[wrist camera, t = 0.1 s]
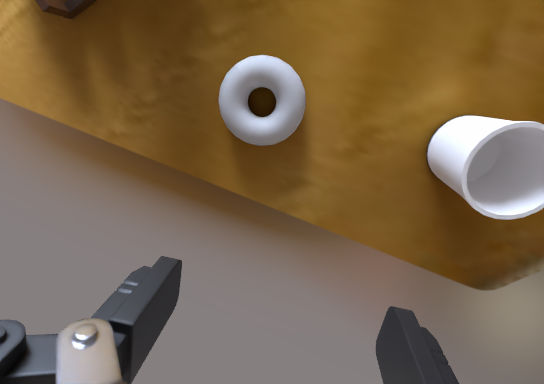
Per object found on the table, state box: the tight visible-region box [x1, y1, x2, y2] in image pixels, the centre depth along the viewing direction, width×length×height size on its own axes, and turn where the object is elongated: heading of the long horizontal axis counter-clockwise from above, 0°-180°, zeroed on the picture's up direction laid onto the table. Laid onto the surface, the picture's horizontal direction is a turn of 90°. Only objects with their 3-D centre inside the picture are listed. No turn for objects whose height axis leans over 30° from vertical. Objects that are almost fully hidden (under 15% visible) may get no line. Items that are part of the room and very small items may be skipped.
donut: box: [219, 55, 306, 146], centre depth 37 cm, size 10×4×10 cm
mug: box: [426, 116, 544, 220], centre depth 33 cm, size 11×9×10 cm
